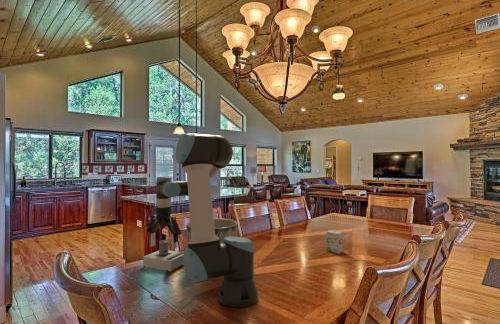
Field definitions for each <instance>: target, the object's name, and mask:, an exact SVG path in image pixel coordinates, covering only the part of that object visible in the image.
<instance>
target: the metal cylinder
mask: <svg viewBox="0 0 500 324" xmlns="http://www.w3.org/2000/svg"><path fill="white" fill-rule="evenodd" d="M168 250H169V239H161V240H159V241H158V251H159V256H160V257H166V256H168Z"/></svg>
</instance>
